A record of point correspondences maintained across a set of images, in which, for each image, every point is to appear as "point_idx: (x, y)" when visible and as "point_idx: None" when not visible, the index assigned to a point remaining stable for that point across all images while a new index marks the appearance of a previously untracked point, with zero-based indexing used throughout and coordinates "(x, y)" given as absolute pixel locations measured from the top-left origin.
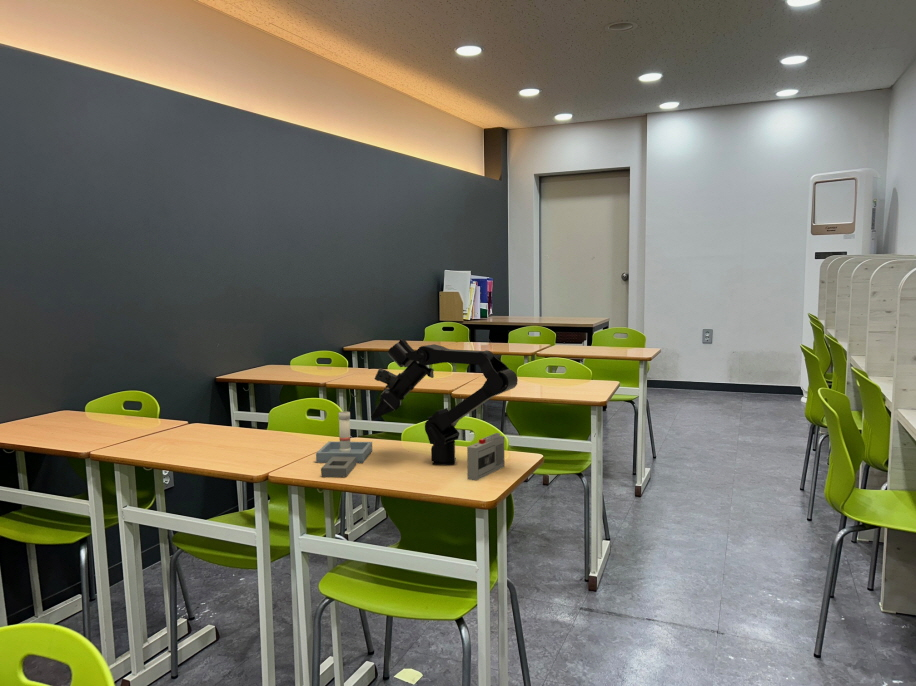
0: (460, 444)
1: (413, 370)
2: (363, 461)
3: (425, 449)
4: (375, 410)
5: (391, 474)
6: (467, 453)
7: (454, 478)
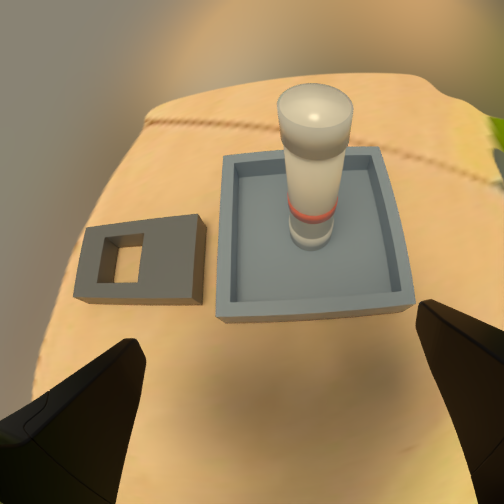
0: None
1: None
2: (236, 322)
3: (428, 491)
4: (70, 379)
5: None
6: None
7: None
